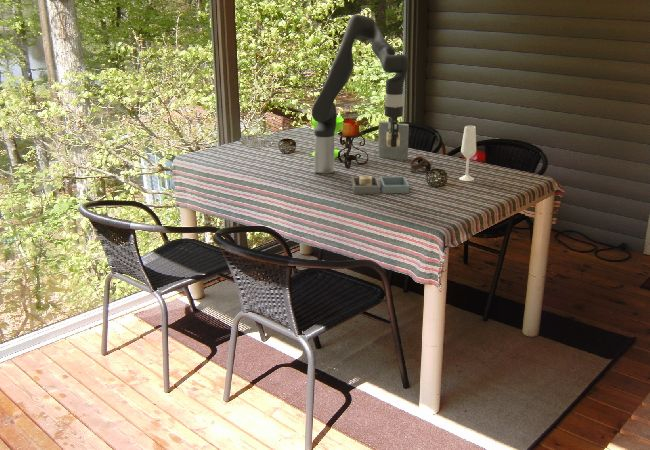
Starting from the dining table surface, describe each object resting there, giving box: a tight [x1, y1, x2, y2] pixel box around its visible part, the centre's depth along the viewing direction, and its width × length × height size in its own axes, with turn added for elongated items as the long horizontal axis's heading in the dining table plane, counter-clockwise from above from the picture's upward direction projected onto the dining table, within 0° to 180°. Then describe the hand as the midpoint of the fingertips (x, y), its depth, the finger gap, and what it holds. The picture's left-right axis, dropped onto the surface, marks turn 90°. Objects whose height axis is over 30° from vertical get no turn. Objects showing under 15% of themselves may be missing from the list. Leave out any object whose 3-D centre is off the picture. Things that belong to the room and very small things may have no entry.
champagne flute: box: [458, 125, 477, 182], centre depth 328 cm, size 7×7×24 cm
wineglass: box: [311, 116, 345, 159], centre depth 370 cm, size 16×16×18 cm
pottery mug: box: [410, 155, 433, 172], centre depth 344 cm, size 12×10×8 cm
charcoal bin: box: [351, 176, 381, 195], centre depth 317 cm, size 11×14×4 cm
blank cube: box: [358, 175, 372, 186], centre depth 316 cm, size 5×5×5 cm
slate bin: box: [379, 176, 410, 194], centre depth 317 cm, size 11×14×4 cm
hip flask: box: [377, 120, 410, 161], centre depth 364 cm, size 16×4×20 cm, turn 60°
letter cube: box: [386, 132, 400, 147], centre depth 304 cm, size 5×5×5 cm
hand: (392, 144), depth 305 cm, fingers closed on letter cube, 5 cm apart
